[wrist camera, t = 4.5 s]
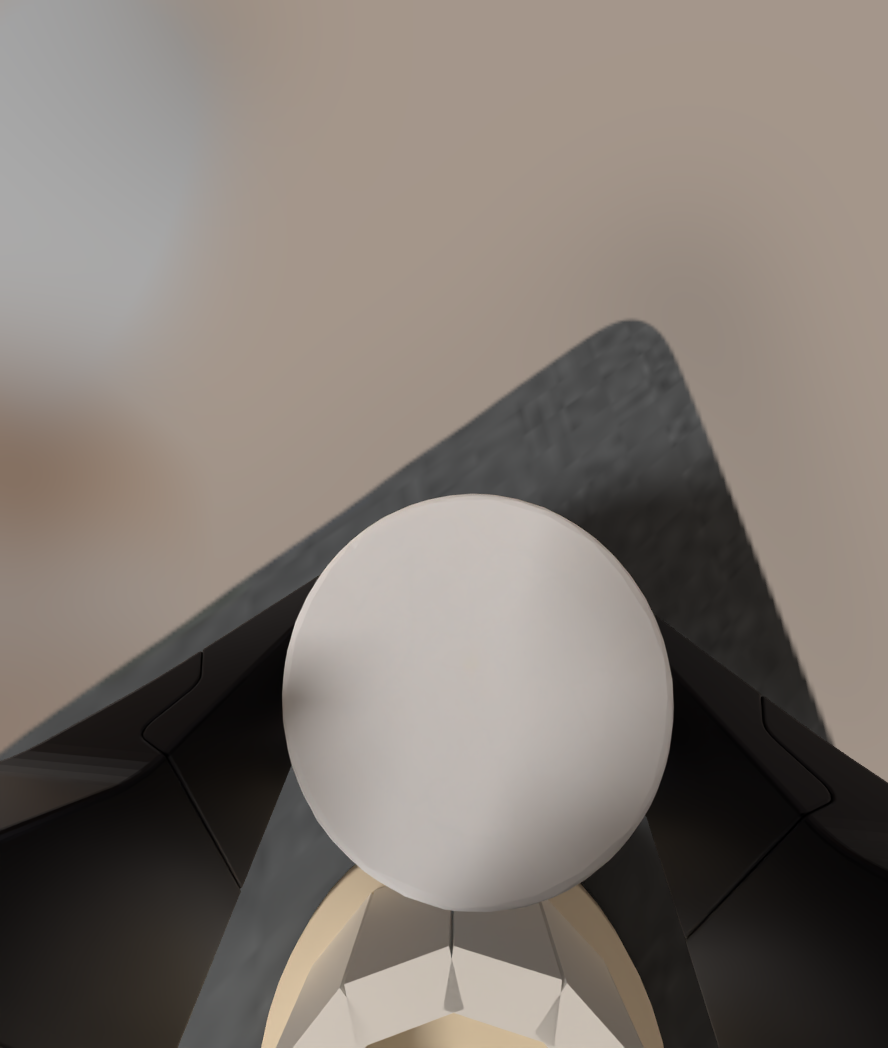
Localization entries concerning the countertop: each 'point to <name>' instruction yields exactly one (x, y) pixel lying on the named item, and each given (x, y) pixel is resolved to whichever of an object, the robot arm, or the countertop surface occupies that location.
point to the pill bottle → (477, 703)
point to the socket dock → (458, 976)
